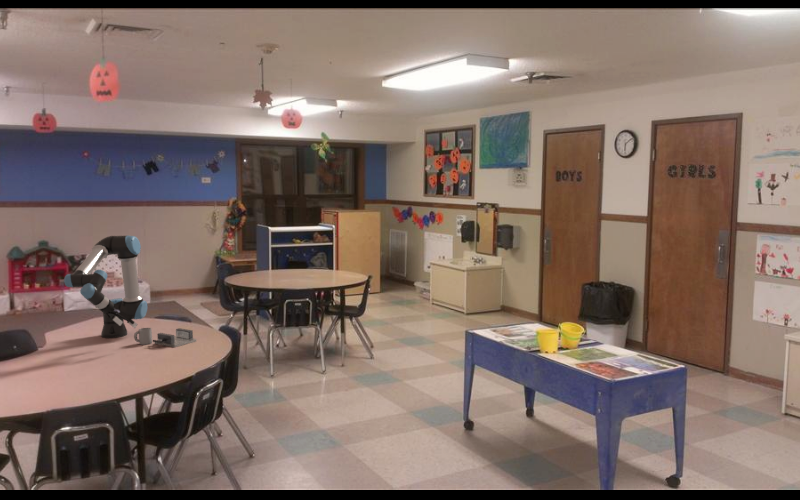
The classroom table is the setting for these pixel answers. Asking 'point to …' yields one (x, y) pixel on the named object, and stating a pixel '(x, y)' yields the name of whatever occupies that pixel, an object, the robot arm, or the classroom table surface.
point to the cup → (144, 336)
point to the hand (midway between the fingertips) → (128, 325)
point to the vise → (175, 338)
